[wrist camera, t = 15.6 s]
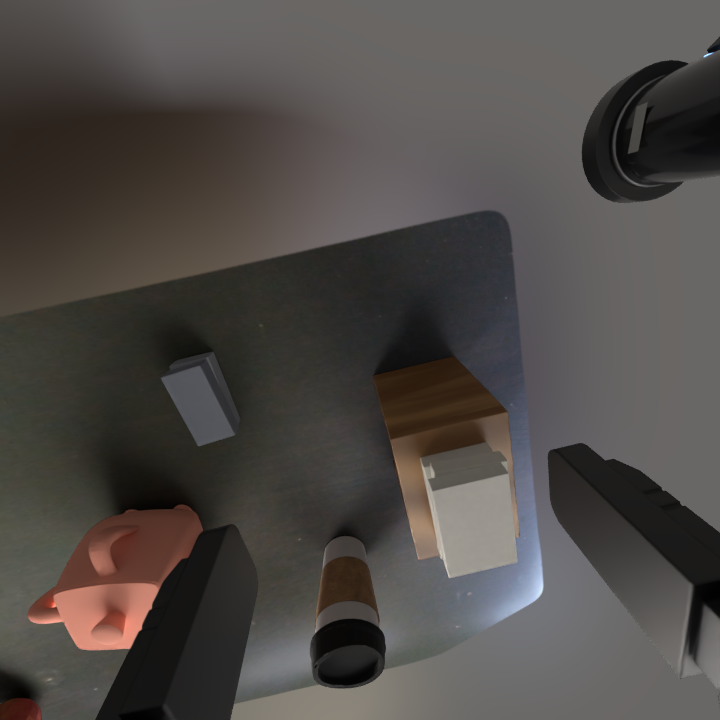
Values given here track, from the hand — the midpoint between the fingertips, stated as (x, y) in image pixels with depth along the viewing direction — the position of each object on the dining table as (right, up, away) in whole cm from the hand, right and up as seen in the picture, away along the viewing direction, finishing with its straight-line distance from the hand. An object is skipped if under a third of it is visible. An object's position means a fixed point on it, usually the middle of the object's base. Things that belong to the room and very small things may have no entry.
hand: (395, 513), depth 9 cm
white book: (+8, -9, +20) cm, 23 cm away
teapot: (-27, -20, +39) cm, 51 cm away
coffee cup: (-3, -24, +43) cm, 49 cm away
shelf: (+7, -3, +36) cm, 37 cm away
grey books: (-19, 0, +33) cm, 38 cm away
